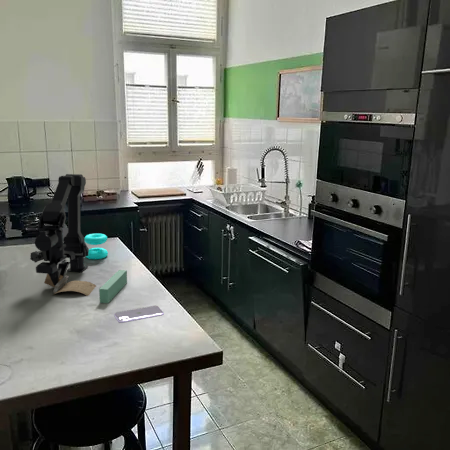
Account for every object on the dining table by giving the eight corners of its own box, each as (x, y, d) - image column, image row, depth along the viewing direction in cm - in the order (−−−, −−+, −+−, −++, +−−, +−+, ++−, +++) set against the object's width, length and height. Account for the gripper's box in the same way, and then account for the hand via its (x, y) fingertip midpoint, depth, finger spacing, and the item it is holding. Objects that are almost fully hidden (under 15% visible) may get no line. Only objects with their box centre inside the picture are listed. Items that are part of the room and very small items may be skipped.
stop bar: (119, 282, 176) (119, 269, 175) (127, 282, 176) (126, 270, 175) (99, 302, 157) (99, 288, 156) (108, 303, 157) (107, 289, 155)
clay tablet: (97, 287, 172) (97, 280, 172) (90, 297, 162) (90, 290, 162) (59, 286, 172) (58, 280, 171) (50, 297, 162) (49, 290, 161)
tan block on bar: (39, 286, 164) (43, 277, 163) (51, 276, 173) (54, 267, 172) (56, 293, 164) (59, 284, 163) (66, 282, 174) (69, 273, 173)
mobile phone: (164, 312, 149) (119, 321, 142) (164, 315, 149) (119, 324, 142) (157, 304, 155) (113, 311, 148) (157, 306, 155) (113, 314, 149)
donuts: (103, 238, 199) (80, 238, 200) (104, 260, 202) (82, 259, 202) (109, 233, 209) (88, 232, 209) (110, 253, 211) (89, 253, 212)
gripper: (47, 235, 175) (49, 273, 178) (19, 249, 157) (23, 291, 160) (74, 237, 173) (76, 275, 177) (50, 251, 155) (53, 293, 159)
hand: (57, 283), depth 168 cm, fingers closed on tan block on bar, 3 cm apart
